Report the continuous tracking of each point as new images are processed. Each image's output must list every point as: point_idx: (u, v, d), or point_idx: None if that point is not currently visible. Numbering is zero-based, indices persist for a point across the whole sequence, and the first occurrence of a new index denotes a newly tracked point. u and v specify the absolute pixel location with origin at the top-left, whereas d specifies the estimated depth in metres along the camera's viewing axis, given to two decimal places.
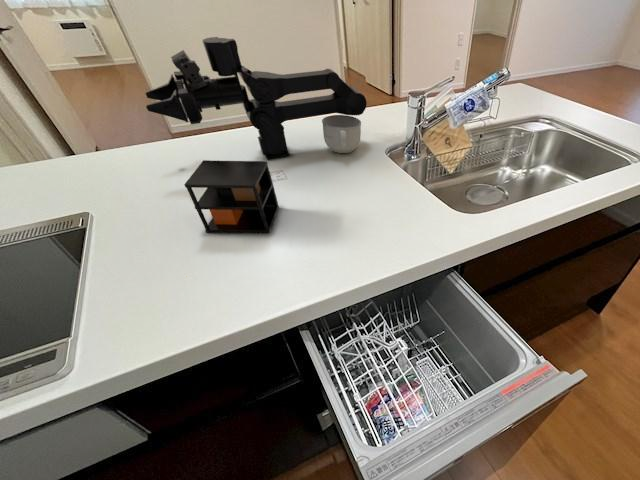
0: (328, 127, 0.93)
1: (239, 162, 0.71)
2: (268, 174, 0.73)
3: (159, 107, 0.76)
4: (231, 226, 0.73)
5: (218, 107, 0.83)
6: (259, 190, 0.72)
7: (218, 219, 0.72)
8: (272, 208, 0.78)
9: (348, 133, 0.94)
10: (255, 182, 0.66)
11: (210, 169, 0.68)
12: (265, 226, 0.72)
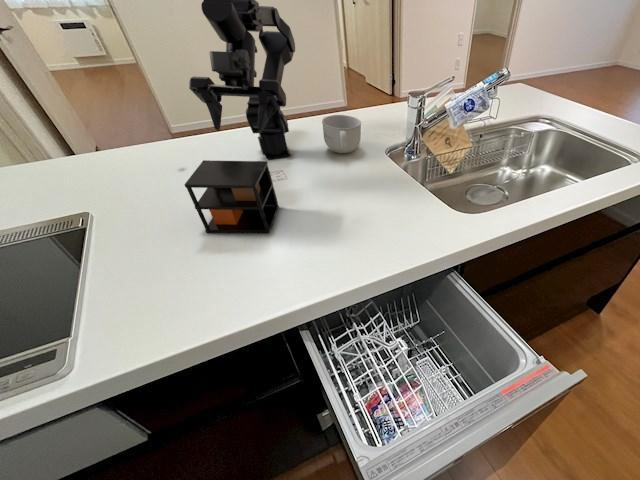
0: (329, 127, 0.93)
1: (239, 162, 0.71)
2: (268, 174, 0.73)
3: (263, 120, 0.75)
4: (231, 226, 0.73)
5: (255, 73, 0.77)
6: (259, 190, 0.72)
7: (218, 219, 0.72)
8: (272, 208, 0.78)
9: (348, 133, 0.94)
10: (255, 182, 0.66)
11: (210, 169, 0.68)
12: (265, 226, 0.72)
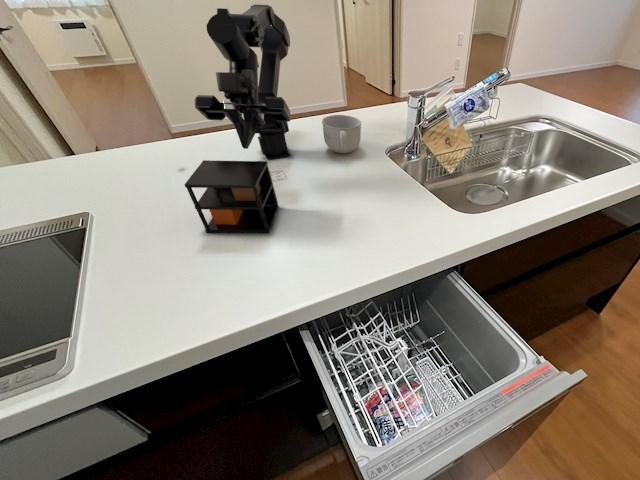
0: (329, 127, 0.93)
1: (239, 162, 0.71)
2: (268, 174, 0.73)
3: (248, 136, 0.76)
4: (231, 226, 0.73)
5: (259, 89, 0.78)
6: (259, 190, 0.72)
7: (218, 219, 0.72)
8: (272, 208, 0.78)
9: (348, 133, 0.94)
10: (255, 182, 0.66)
11: (210, 169, 0.68)
12: (265, 226, 0.72)
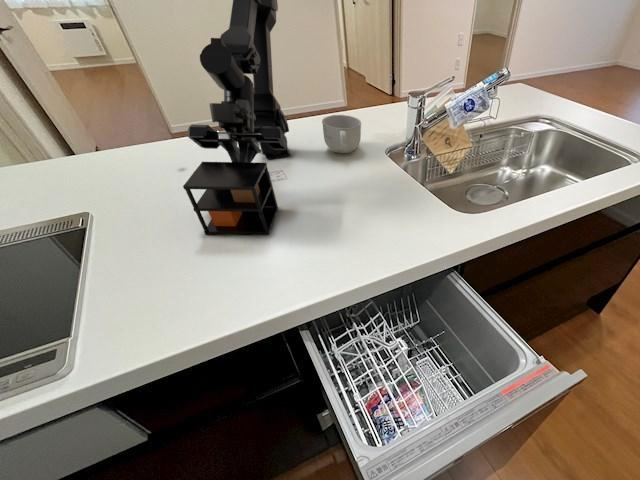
0: (329, 127, 0.93)
1: (238, 164, 0.70)
2: (267, 175, 0.72)
3: None
4: (230, 228, 0.72)
5: (254, 116, 0.76)
6: (258, 191, 0.71)
7: (217, 221, 0.72)
8: (271, 210, 0.77)
9: (348, 133, 0.94)
10: (254, 184, 0.65)
11: (209, 170, 0.68)
12: (264, 228, 0.71)
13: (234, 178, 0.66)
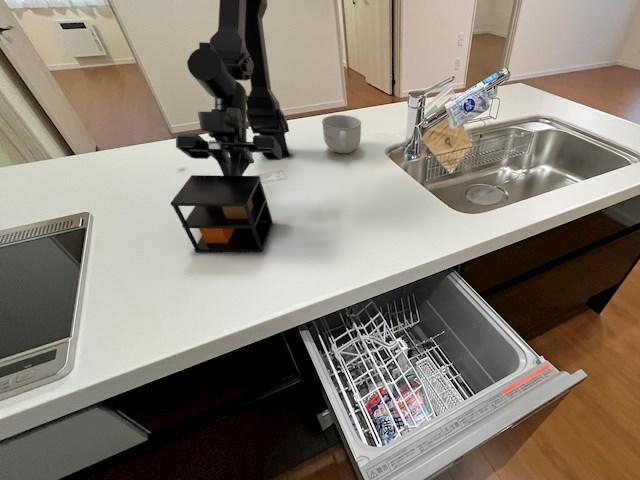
0: (329, 127, 0.93)
1: (229, 177, 0.66)
2: (261, 189, 0.69)
3: None
4: (222, 245, 0.68)
5: (247, 125, 0.72)
6: (251, 206, 0.67)
7: (208, 237, 0.68)
8: (266, 224, 0.74)
9: (348, 133, 0.94)
10: (246, 200, 0.61)
11: (199, 185, 0.64)
12: (258, 245, 0.67)
13: (225, 193, 0.62)
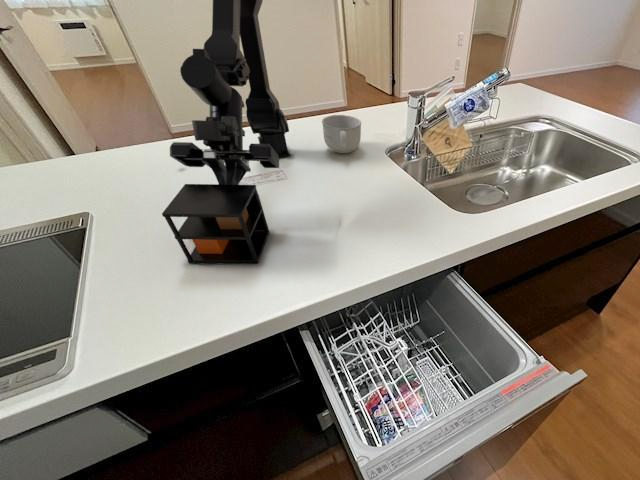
0: (329, 127, 0.93)
1: (224, 186, 0.64)
2: (257, 198, 0.66)
3: None
4: (216, 256, 0.66)
5: (244, 132, 0.70)
6: (247, 216, 0.65)
7: (202, 248, 0.66)
8: (262, 234, 0.71)
9: (348, 133, 0.94)
10: (241, 210, 0.59)
11: (192, 195, 0.62)
12: (253, 256, 0.65)
13: (219, 204, 0.60)
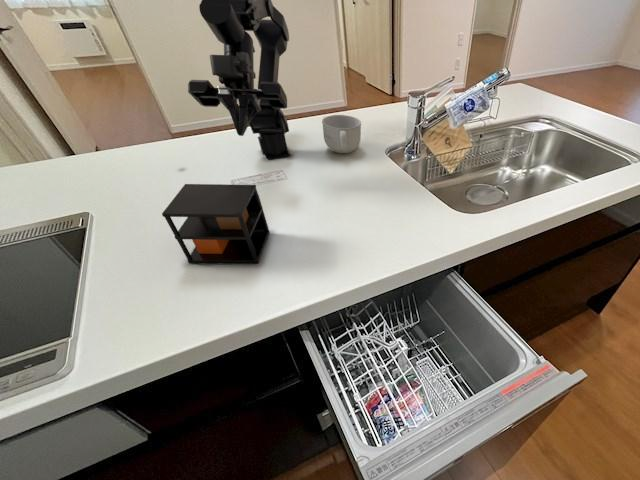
0: (329, 127, 0.93)
1: (224, 186, 0.64)
2: (257, 198, 0.66)
3: (244, 123, 0.74)
4: (216, 256, 0.66)
5: (254, 74, 0.76)
6: (247, 216, 0.65)
7: (202, 248, 0.66)
8: (262, 234, 0.71)
9: (348, 133, 0.94)
10: (241, 210, 0.59)
11: (192, 195, 0.62)
12: (253, 256, 0.65)
13: (219, 204, 0.60)
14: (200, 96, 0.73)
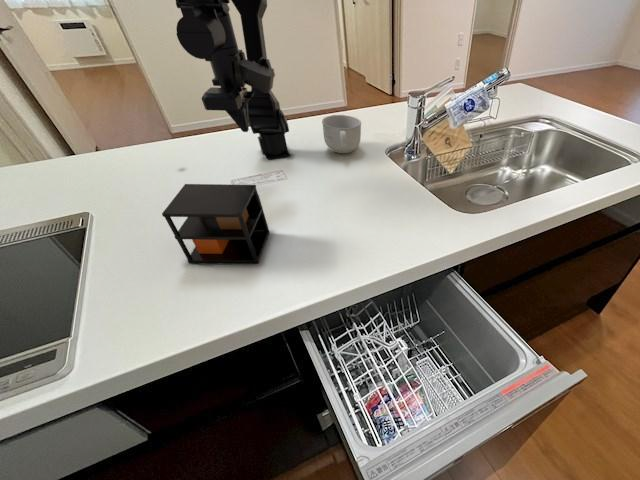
0: (329, 127, 0.93)
1: (224, 186, 0.64)
2: (257, 198, 0.66)
3: None
4: (216, 256, 0.66)
5: None
6: (247, 216, 0.65)
7: (202, 248, 0.66)
8: (262, 234, 0.71)
9: (348, 133, 0.94)
10: (241, 210, 0.59)
11: (192, 195, 0.62)
12: (253, 256, 0.65)
13: (219, 204, 0.60)
14: None
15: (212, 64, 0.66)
